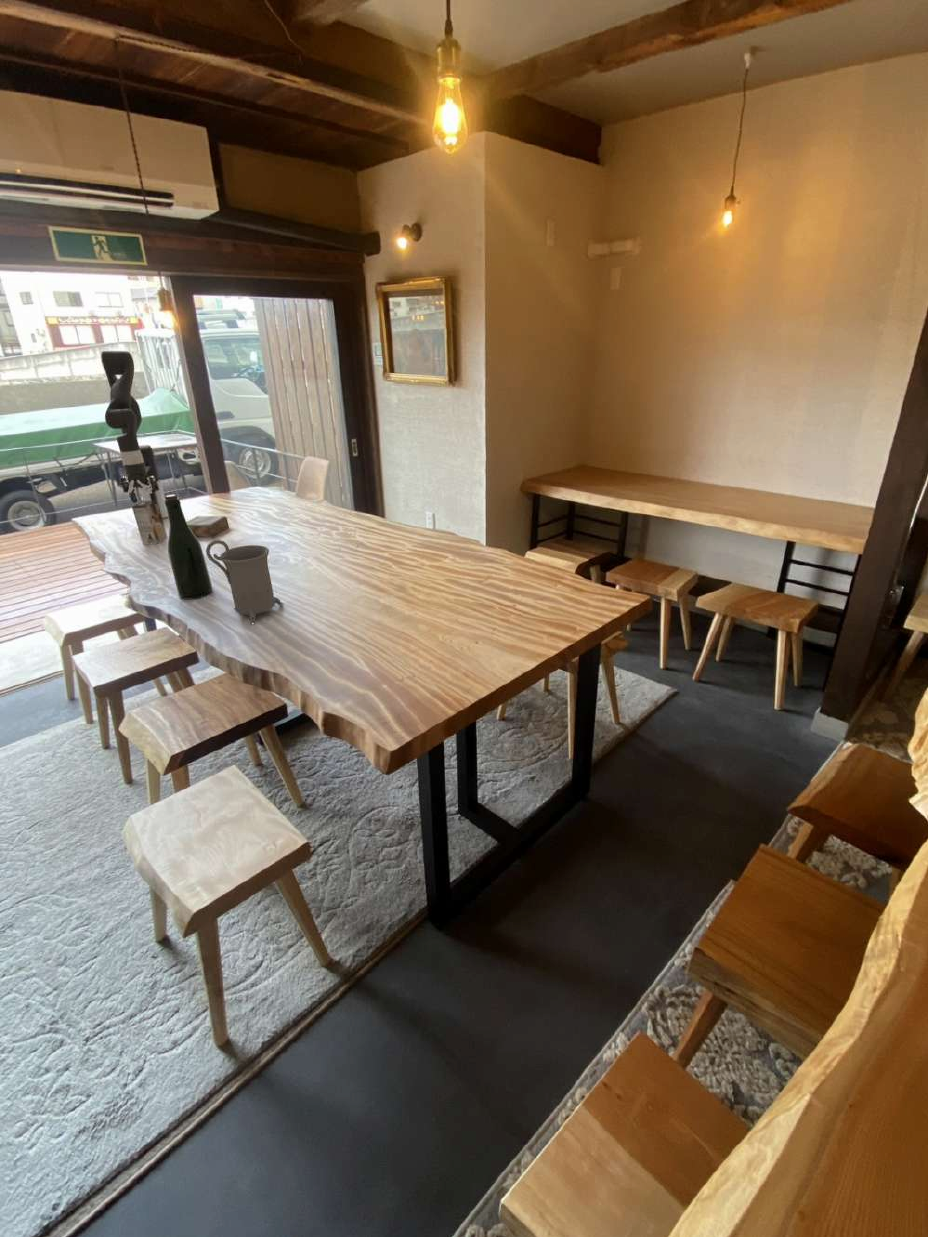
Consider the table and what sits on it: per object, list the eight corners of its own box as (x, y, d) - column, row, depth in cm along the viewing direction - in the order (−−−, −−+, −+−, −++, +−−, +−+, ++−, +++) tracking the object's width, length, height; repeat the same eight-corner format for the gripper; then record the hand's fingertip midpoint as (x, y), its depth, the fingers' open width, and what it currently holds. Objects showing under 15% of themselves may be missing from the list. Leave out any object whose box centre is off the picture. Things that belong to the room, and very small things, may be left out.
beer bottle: (202, 585, 203) (178, 489, 188) (219, 591, 197) (195, 493, 182) (173, 595, 196) (145, 496, 181) (189, 602, 189) (162, 501, 175)
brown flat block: (182, 537, 252) (179, 525, 250) (199, 527, 264) (196, 515, 262) (213, 537, 250) (210, 525, 248) (229, 527, 262) (226, 515, 260)
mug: (273, 597, 190) (258, 522, 179) (293, 612, 180) (278, 533, 169) (215, 615, 180) (195, 537, 169) (232, 631, 170) (212, 549, 159)
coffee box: (153, 537, 254) (142, 500, 247) (167, 537, 254) (157, 500, 247) (142, 544, 246) (131, 506, 239) (157, 544, 246) (146, 506, 238)
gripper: (155, 459, 238) (166, 499, 245) (123, 460, 240) (134, 499, 247) (144, 463, 231) (155, 504, 238) (110, 464, 233) (122, 504, 240)
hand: (144, 502), depth 242 cm, fingers open, 8 cm apart
